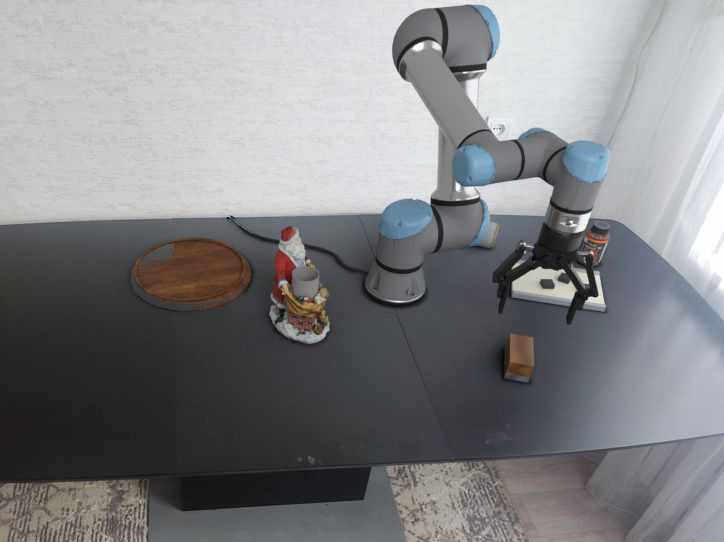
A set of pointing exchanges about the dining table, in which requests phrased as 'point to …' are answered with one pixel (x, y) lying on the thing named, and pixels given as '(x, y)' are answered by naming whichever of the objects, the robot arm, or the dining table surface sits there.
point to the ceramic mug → (489, 236)
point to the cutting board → (195, 272)
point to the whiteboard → (561, 293)
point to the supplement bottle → (596, 241)
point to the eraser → (519, 358)
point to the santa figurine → (297, 292)
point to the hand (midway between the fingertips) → (533, 315)
